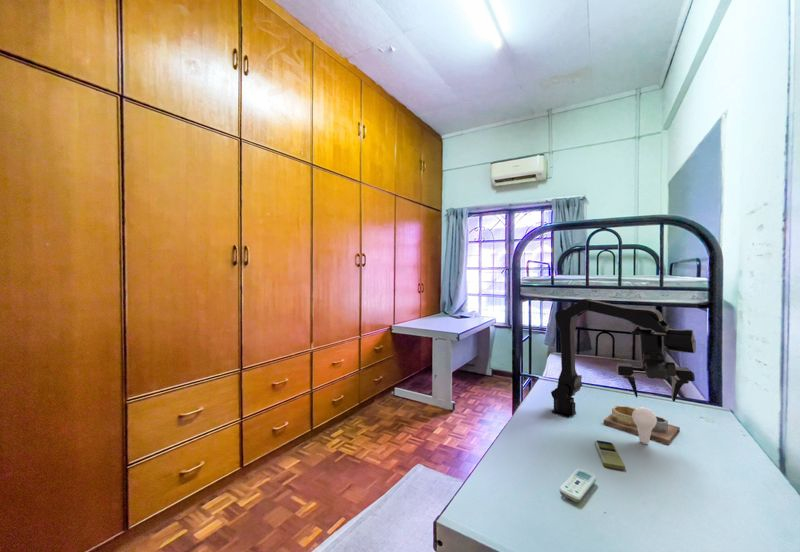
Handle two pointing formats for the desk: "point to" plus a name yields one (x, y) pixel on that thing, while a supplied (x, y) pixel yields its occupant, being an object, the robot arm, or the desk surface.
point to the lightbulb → (644, 423)
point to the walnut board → (657, 436)
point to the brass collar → (623, 415)
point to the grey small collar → (661, 425)
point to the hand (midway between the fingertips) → (654, 399)
